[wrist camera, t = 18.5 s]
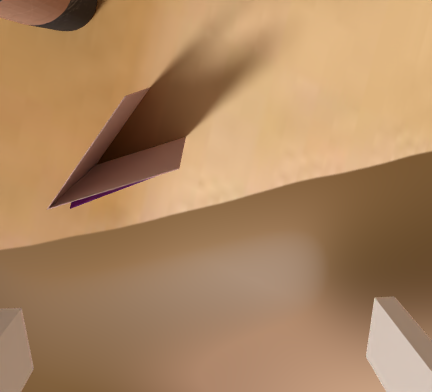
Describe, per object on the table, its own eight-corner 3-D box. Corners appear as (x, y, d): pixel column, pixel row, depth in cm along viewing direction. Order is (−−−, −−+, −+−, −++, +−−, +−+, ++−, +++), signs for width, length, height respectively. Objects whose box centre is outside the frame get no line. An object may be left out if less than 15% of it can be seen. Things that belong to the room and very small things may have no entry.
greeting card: (97, 172, 45) (51, 218, 31) (72, 112, 43) (10, 133, 29) (188, 144, 45) (182, 178, 31) (167, 81, 43) (151, 87, 28)
